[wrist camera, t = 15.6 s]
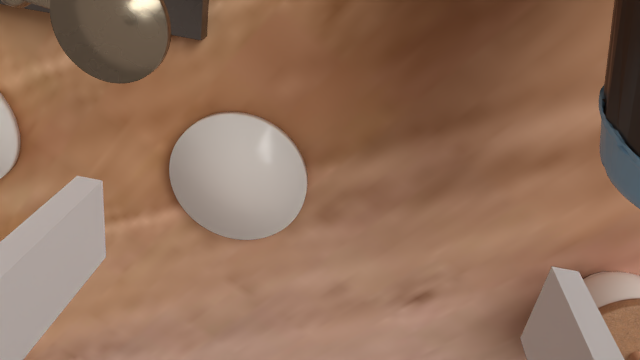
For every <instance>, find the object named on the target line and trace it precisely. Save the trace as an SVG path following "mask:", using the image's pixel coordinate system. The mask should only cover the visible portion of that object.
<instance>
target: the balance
mask: <svg viewBox="0 0 640 360" xmlns="http://www.w3.org/2000/svg"><path fill="white" fill-rule="evenodd" d="M208 3H209V0H0V4H4V5H8V6H11V7H14V8H26V9H31V10H37V11H42V12H48V13H50V17H51V23H52V27H53V30H54V33H55V36H56V38H57V40H58V42H59V44H60V46H61V47H62V49H63V50H64V52H65V53H66V54H67V56H68V57H69V58H70V59H71V60H72V61H73V62H74V63H75V64H76V65H77V66H78V67H79V68H81V69H82V70H83V71H85V72H86V73H88V74H89V75H91V76H93V77H95V78H98V79H100V80H103V81H107V82H111V83H130V82H134V81H137V80H140V79H142V78H144V77H146V76H147V75H149V74H150V73H151V72H153V71H154V70H155V69H156V68H157V67H158V66H159V65H160V64H161V63H162V61H163V60H164V58H165V56H166V54H167V51H168V49H169V45H170V40H171V35H175V36H181V37H186V38H192V39H197V40H202V39H203V38H205V37H206V36H207V23H208Z"/></svg>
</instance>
